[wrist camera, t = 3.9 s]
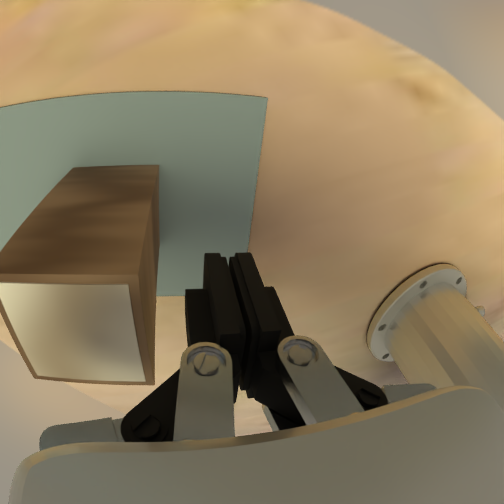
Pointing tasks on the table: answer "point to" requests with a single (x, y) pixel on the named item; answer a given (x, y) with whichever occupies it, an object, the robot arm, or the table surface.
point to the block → (87, 278)
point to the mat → (145, 153)
